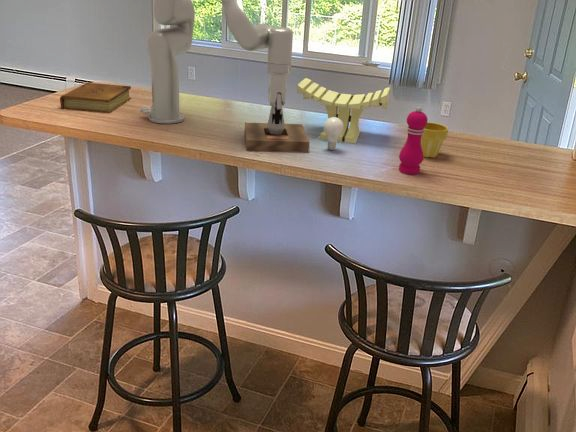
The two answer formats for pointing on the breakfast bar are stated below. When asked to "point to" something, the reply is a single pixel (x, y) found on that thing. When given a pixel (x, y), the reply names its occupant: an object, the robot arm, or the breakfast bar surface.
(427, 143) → the plant pot
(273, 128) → the salt shaker
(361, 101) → the slatted curved stool
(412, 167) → the pepper mill
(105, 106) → the diary
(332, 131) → the lightbulb
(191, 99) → the breakfast bar surface
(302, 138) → the socket block
